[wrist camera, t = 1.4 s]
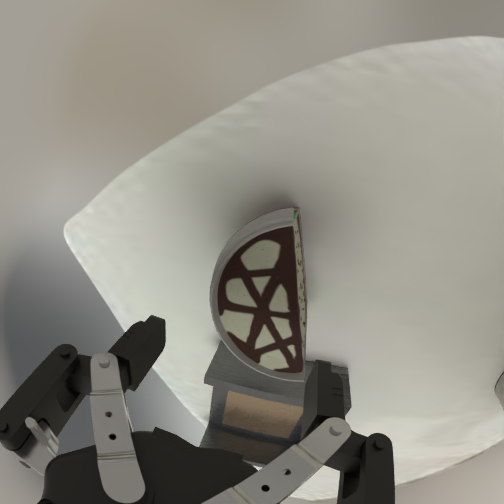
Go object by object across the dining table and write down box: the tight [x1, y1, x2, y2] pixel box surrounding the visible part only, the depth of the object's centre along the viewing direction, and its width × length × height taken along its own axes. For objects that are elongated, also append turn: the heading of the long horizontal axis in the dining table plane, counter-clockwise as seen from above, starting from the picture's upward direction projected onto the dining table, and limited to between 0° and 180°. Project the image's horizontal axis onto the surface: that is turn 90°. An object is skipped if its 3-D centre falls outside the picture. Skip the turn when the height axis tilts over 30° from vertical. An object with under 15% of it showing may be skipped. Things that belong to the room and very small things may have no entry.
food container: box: [210, 207, 307, 382], centre depth 21 cm, size 12×6×10 cm, turn 8°
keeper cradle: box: [199, 340, 351, 467], centre depth 30 cm, size 15×18×6 cm
